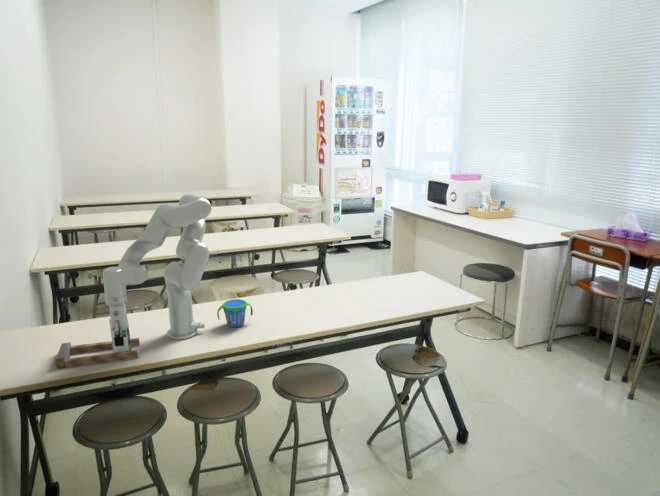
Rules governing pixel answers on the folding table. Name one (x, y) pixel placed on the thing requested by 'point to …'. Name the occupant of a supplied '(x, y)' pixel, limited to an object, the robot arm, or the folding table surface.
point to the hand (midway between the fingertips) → (120, 340)
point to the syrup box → (125, 336)
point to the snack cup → (235, 312)
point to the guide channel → (66, 350)
